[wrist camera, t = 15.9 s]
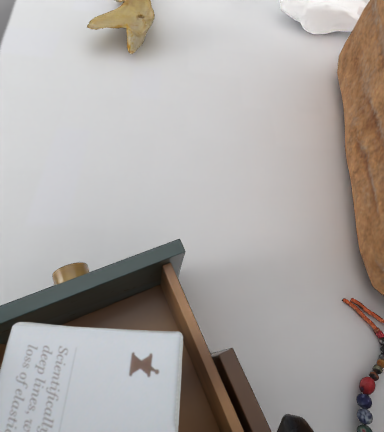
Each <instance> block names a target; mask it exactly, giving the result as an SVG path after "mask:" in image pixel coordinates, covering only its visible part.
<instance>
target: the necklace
mask: <svg viewBox="0 0 384 432" xmlns="http://www.w3.org/2000/svg"><path fill="white" fill-rule="evenodd" d="M342 301H343V302H345V303H346V304H348V305H349V306H351V307H352V308H353V309H355V310H356V312H357V313H358V314H359V315H360V316H361V317H362V318H363V319H364V320H365V321H366V322H367V323H368V324H370V326H371V327H372V328H373V329H374V330H373V331H374V332H375V334H376V335H377V337H378V338H379V343H380V344H381V345H383V346H382V347H381V351H382V352H383V353H381V355H380V359H379V360H377V365H375V366H374V367H373V371H374V372H370V374H369V376H370V377H365V378H363V379H362V380H361V382H360V390H361V392H362V393H363V394H362V393H361V394H359V395H358V396H357V403H358V405H359V406H360V407H361V408H363V409H359V410H358V412H357V417H358V419H359V421H360V422H361V423H363V424H364V425H363V424H362V425H359V426H358V428H357V432H372V430H371V429H370V427H369V426H367V424H371V422H372V420H373V418H372V414H371V413H370V411H368V410H367V409H368V408H370V407H371V405H372V401H371V398H370V397H369V394H371V393H372V392H373V391H374V390H375V382H374V381H377V380H378V379H379V376H378V374H381V373H382V371H383V370H382V369H383V368H384V334H383V333H382V331H380V329H379V328H377V327H376V325H375V324H374V323H373V322H372V321H371V320H370V319H369V318H367V316H365V315H364V313H362V311H361V310H360V309H359V308H358V307H357V306H356V305H354V304H353V303H355V304H357V305H358V306H359V307H360V308H362V309H363V310H364V311H365V312H367V313H368V314H369V315H372V316H373V317H374V318H376V319H377V320H378V321H380V322H381V323H382V322H383V323H384V320H383V319H382V318H381V317H380V316H378V315H377V314H375V313H374V312H371V310H369V309H367V308H366V307H365V306H364V305H363V304H362V303H360V302H359V301H357V300H355V299H353V298H352V299H351V300H350V302H349V301H348V300H347V299H345V298H344V299H343V300H342ZM352 302H353V303H352Z"/></svg>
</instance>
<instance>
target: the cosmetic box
mask: <svg viewBox="0 0 384 432" xmlns="http://www.w3.org/2000/svg"><path fill="white" fill-rule="evenodd" d="M182 352H183V335H182V333H181V332H178V331H147V330H127V329H108V328H90V327H72V326H62V325H52V324H42V323H33V322H18V323H16V324H14V325H13V326H12V329H11V332H10V336H9V339H8V343H7V347H6V350H5V354H4V358H3V362H2V365H1V369H0V432H178V426H179V408H180V392H181V374H182Z"/></svg>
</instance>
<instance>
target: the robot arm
mask: <svg viewBox="0 0 384 432" xmlns="http://www.w3.org/2000/svg"><path fill="white" fill-rule="evenodd" d="M277 432H314V431H313V430H312V428H311V427H310V426H309V424H308V423H307V422H306V421H305V419H303V418H302V417H300V416H295V415H290V414H286V415H284V416H283V418H282V421H281V423H280V426H279V428H278V430H277Z"/></svg>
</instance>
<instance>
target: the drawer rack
mask: <svg viewBox="0 0 384 432" xmlns="http://www.w3.org/2000/svg"><path fill="white" fill-rule="evenodd" d="M211 357H212V359H213V361H214V364H215V366H216V368H217V370H218V373H219V375H220V377H221V380H222V382H223V384H224V387H225V389H226V391H227V394H228V396H229V398H230V400H231V403H232V405H233V407H234V410H235V412H236V414H237V417H238V419H239V421H240V424H241V426H242V428H243V431H244V432H271V430H270V428H269V426H268V423H267V421H266V419H265V417H264V415H263V413H262V410H261V408H260V406H259V404H258V402H257V400H256V397H255V395H254V393H253V391H252V389H251V387H250V384H249V382H248V380H247V378H246V376H245V374H244V371H243V369H242V367H241V365H240V363H239V361H238V358H237V356H236V354H235V352H234V350H233V348H229V349H226V350H222V351H219V352H216V353H213V354H211Z"/></svg>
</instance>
